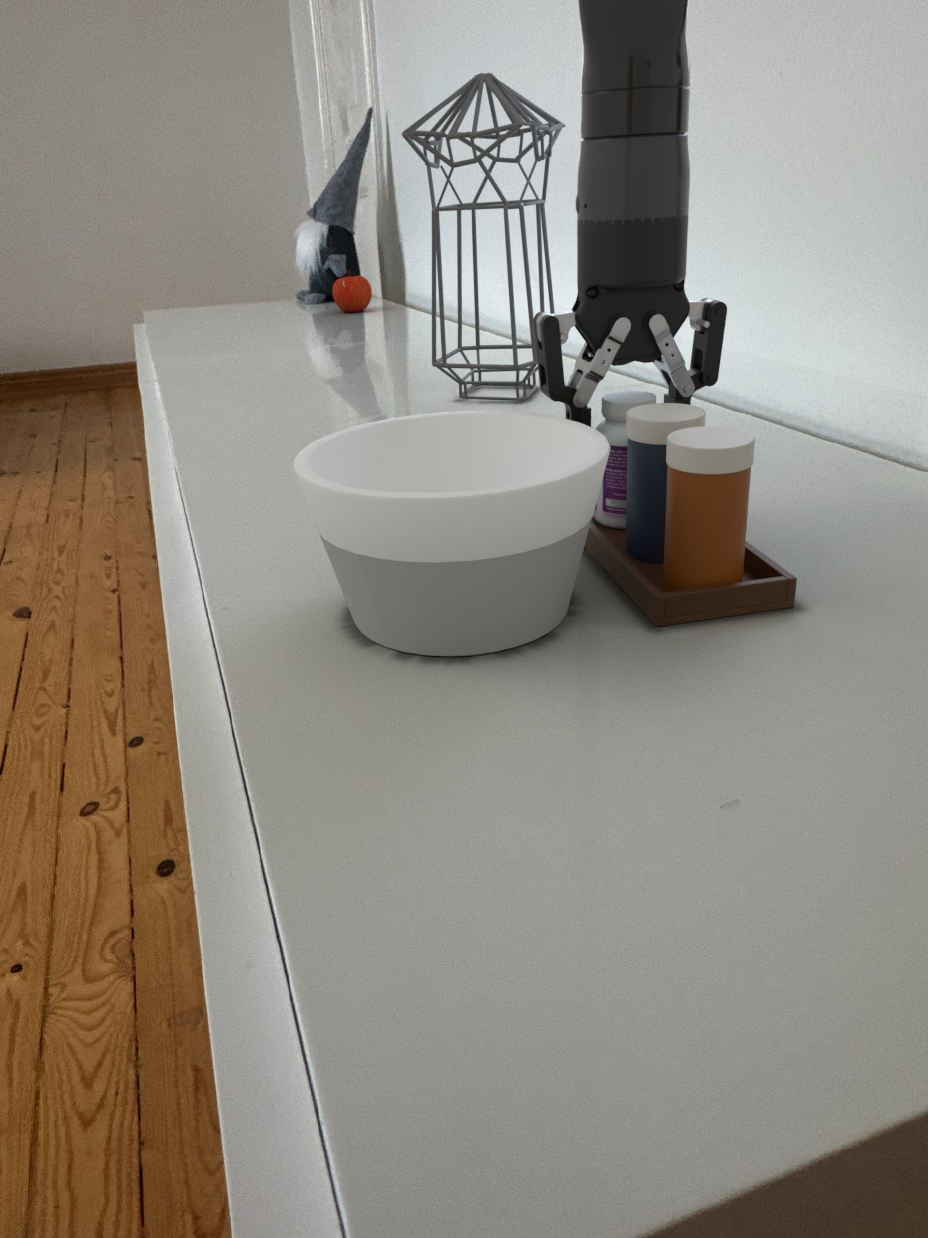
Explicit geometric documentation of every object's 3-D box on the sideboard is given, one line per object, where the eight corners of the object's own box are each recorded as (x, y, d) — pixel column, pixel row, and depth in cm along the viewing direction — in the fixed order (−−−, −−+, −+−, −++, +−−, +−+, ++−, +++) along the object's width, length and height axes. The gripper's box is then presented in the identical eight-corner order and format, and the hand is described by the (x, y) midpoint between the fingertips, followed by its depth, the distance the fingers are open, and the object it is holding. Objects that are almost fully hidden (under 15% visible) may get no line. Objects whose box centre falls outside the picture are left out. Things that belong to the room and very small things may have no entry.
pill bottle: (676, 519, 75) (682, 394, 70) (625, 536, 72) (628, 407, 68) (628, 503, 79) (630, 384, 74) (578, 518, 76) (578, 396, 72)
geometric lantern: (542, 410, 111) (534, 61, 96) (415, 407, 116) (389, 75, 101) (572, 381, 124) (570, 71, 110) (457, 380, 129) (440, 82, 114)
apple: (363, 314, 192) (359, 271, 189) (327, 314, 195) (322, 272, 192) (380, 308, 199) (376, 267, 196) (345, 308, 202) (341, 268, 198)
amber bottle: (721, 568, 66) (731, 422, 61) (757, 597, 61) (770, 442, 57) (649, 577, 65) (653, 430, 60) (680, 608, 60) (687, 452, 56)
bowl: (661, 642, 57) (668, 466, 53) (341, 704, 53) (318, 517, 48) (545, 538, 74) (542, 398, 69) (295, 578, 69) (274, 430, 65)
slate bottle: (680, 533, 72) (686, 399, 68) (710, 558, 67) (718, 416, 63) (613, 542, 71) (615, 407, 67) (639, 568, 66) (643, 424, 62)
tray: (664, 504, 79) (664, 481, 79) (794, 607, 61) (797, 577, 60) (556, 517, 78) (556, 494, 77) (656, 627, 59) (657, 597, 58)
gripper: (546, 220, 61) (550, 473, 68) (756, 205, 64) (738, 452, 71) (516, 216, 68) (523, 447, 75) (707, 202, 70) (696, 428, 77)
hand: (627, 448), depth 73 cm, fingers open, 6 cm apart
